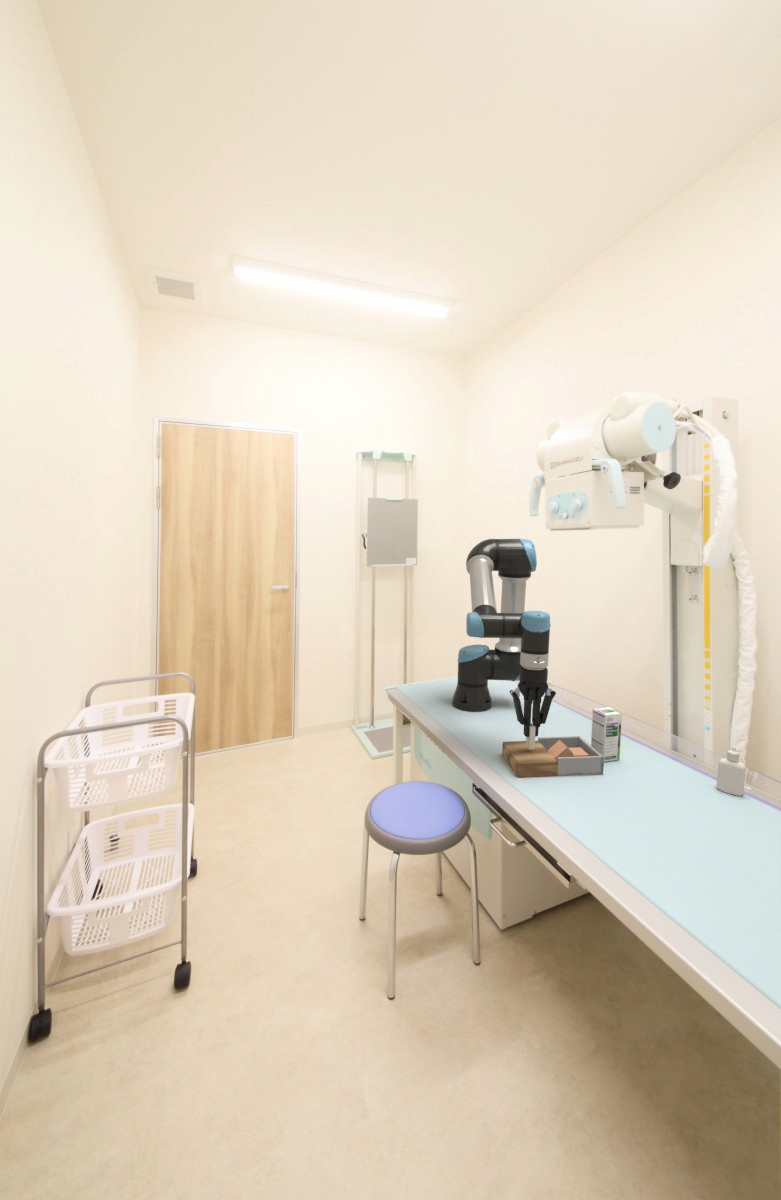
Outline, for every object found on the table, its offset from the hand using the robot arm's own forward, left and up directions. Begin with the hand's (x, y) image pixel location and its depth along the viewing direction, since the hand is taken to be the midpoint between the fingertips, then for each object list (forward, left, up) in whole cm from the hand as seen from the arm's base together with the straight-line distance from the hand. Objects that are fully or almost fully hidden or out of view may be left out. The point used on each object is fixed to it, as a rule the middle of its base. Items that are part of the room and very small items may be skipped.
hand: (530, 746), depth 135 cm
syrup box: (-3, +24, -6) cm, 25 cm away
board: (0, 0, -5) cm, 5 cm away
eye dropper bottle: (+18, +46, -6) cm, 50 cm away
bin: (0, +12, -5) cm, 13 cm away
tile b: (0, +14, -2) cm, 14 cm away
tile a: (0, +10, -3) cm, 10 cm away
